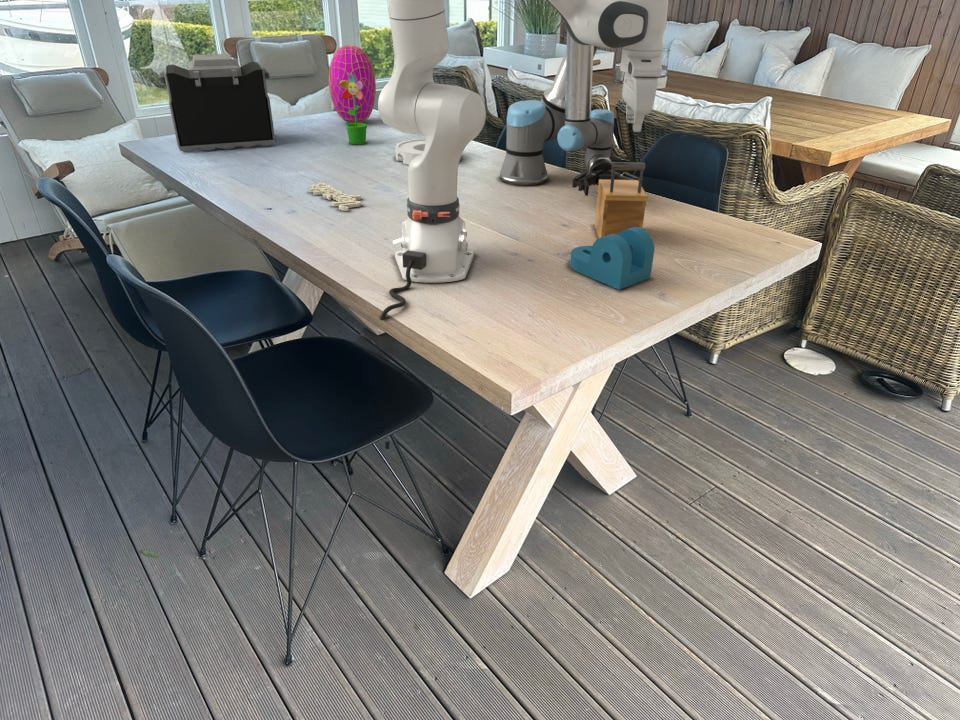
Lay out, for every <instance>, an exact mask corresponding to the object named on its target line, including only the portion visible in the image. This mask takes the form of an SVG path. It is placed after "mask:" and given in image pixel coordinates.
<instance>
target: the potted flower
mask: <svg viewBox="0 0 960 720" xmlns="http://www.w3.org/2000/svg"><path fill="white" fill-rule="evenodd" d="M348 78H349V81H346V80H342V81H341V82H340V83H339V84H340V85H341V86H342V87H343V88H346V89H347V90H345V91H344V93H343V94H342V97H341V99H348V98H350V97H351V96H352V95H353V100H354V110H349V111H348V112H349V114H351V115H355V123H349V122H348V123H347V124H346V125H345V128H346V131H347V136H348V141H349V144H352V145H363V144H366V143H367V129H368V124H367V123H366V122H365V123H364V122H361V123H357V116H356V110H358V109H359V106H356V103H355V95H356V97H357V98H358V99H359V100H362V98H363V93H362V92H361V91H360V90H361V89H363V84H362V82H361V81H358V82H357V83H356V78H355V76H354V75H352V74H350V73H348Z"/></svg>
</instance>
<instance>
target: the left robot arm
mask: <svg viewBox="0 0 960 720" xmlns="http://www.w3.org/2000/svg"><path fill="white" fill-rule="evenodd" d="M444 1H445V0H386V5H387V12H388V19H389V25H390V31H391V39H392V45H393V54H394V56H393V58H394V60H393V69H392V73H391V77H390V79H389V80H388V82H387V83H385V85H384V87H383V88H382V89H381V91H380V93H379V96H378V99H377V111H378V113H379V117H380V119H381V121H382V122H383V124H384V125H386V126H388V127H390V128H392V129H394V130H395V131H398V132H401V133H403V134H410V135H415V136H420V137H421V136H422V137H425V138H424V139H426V143H425V149H424V152H423V153H421V154H419V155H418V156H416V157H415V158H414V159H413V160H412V161H411V162H410V164H409V165H408V167H407V184H408V186H407V187H408V198H407V199H406V211H407V213H406V214H407V217H406V218H405V219H404V220H403V221H402V223H401V231H402V237H399V238H397V239H395V240H392V244H393V245H395V244H398V243H401V244H400V247H401V249H400V250H397V251H395V252H394V259H395V262H396V264H397V267H398V269H399V272H400V274H401V277H402V279H403V280H405V281H406V284H405V285H404V286H402V287H393V288H390V290H389V295H390V297H392V298H394V299H396V300H398V301H400V302H398V303H397V302H396V303H394V304H391V305H388V306H387V307H385V308H384V309H383V310H382V312H381V314H380V317H379V320H380V321H384V320H385V319H386V317H387V315H388V314H389V312H391V311H393V310H396V309H399V308H403V307H404V306H405V305H406V303H407V302H406V301H407V300H406V299H405V297H403V296H402V295H399V294H397V293H400V292H404V291H407V290H409V289H410V288H411V286H412V282H414V283H431V284H433V283H435V284H437V283H451V282H457V281H461V280H464V279H466V277H467V274H468V273H469V269H470V267H471V265H472V262H473V260H474V257H475V251H473V250H471V249H468V245H469V243H468V242H467V241H466V238H467V236H468V232H467V231H466V221H465V220H464V219H463V218H461V216H460V208H461V207H460V206H461V205H460V198H459V197H458V173H459V166H460V160H461V159H460V158H462V155H463V152H464V150H466V147H467V146H468V145H469V143H471V142H472V141H474V139H476V138H477V137H478V136H479V135H480V134H481V133H482V130H483V129H484V127H485V123H486V119H487V110H486V105H485V102H484V100H483V98H482V96H481V95H480V94H479V93H477V92H475V91H472V90H470V89H467V88H465V87H462V86H459V85H452V84H443V83H436V82H435V81H434V67H436V65H438V64H440V63H441V62H442V61H443V60H444V59H445V57H446V56H447V54H448V51H449V48H450V42H449V35H448V25H447V18H446V11H445V10H446V9H445V3H444ZM546 2H548V4H549V5H550V6H551V7H552V8H553V9H554V10H555V12H557V14H558V15H560V17H561V19H562V20H563V23H564V25H565V27H566V31H567V30H568V32H569V34H570V36H571V37H572V39H573V40H574V41H575V42H577V43H579V44H581V45H593V46H598V48H605V49H609V50H615V49H620V48H621V56H620V57H621V58H620V66H619V70H620V71H621V72H622V73H624V77H623V84H622V90H621V99H622V100H623V101H624V102H625V112H626V114H625V122H626V123H627V124H632V131H633V132H634V133H640V132H641V131H642V126H643V122H644V120H645V117H646V115H650V114H651V113H652V110H653V108H654V104H655V99H656V95H657V89H658V83H659V78H660V77H662V74H663V65H662V61H663V59H662V57H663V50H664V44H663V43H664V42H663V37H664V33H665V31H666V28H667V22H668V12H669V11H668V10H669V0H546ZM384 444H385V445H384V446H385V450H389V449H391V446H390V440H387V441H385V442H384Z"/></svg>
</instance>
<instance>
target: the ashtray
mask: <svg viewBox="0 0 960 720" xmlns="http://www.w3.org/2000/svg"><path fill="white" fill-rule="evenodd" d="M425 143H426V138H416V139H415V138H414V139H408V140H404V141H399V142H398V143H396V144H395V146H394V150H395V151H394V152H395V153H394V154H395V160H396V161H397V162H403V164H404V165H408V166H409V164H410V162H411V161H412V160H413V159H414V158H415V157H416V156H418V155H419V154H421V153H423V152H424V149H425ZM461 158H462V157H461ZM461 158H460V160H462V159H461Z"/></svg>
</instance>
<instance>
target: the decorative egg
mask: <svg viewBox="0 0 960 720" xmlns="http://www.w3.org/2000/svg"><path fill="white" fill-rule="evenodd" d="M348 73H350V74H352V75H354V76H355V78H356V83H357V82H358V81H361V82H362V84H363V89H361V90H360V91H361V92H362V93H363V98H362V100H359V99H358V98H357V97H356V95H355V103H356V106H359V109H358V110H356V116H357V123H364V122H365V121H366V120H368V118H369V117H370V116H371V114H372V112H373V111H374V106H375V103H376V102H375V101H376V96H377V95H376V94H377V83H376V82H377V81H376V75H375V71H374V68H373V63H372V62H371V60H370V57H369V56H368V54H367V53H366V51H365V50H363V48H361V47H359V46H357V45H353V44H352V45H351V44H348V45H343V46H340V47H338V48H337V49H336V51H334V53H333V56H332V57H331V61H330V63H329V69H328V90H329V96H330V99H331V103H332V105H333V108H334V110H335V111H336V113H337V114H338V116H339V118H341V119H342V120H343V121H344V122H346V123H348V124H349V123H355V115H351V114H349V112H348V111H349V110H354V100H353V95H352V96H351V97H350V98H348V99H341V97H342V94H343V93H344V91H345V90H347V89H346V88H343V87H342V86H341V85H340V84H339V83H340V82H341V81H342V80H346V81H349V78H348Z"/></svg>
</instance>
